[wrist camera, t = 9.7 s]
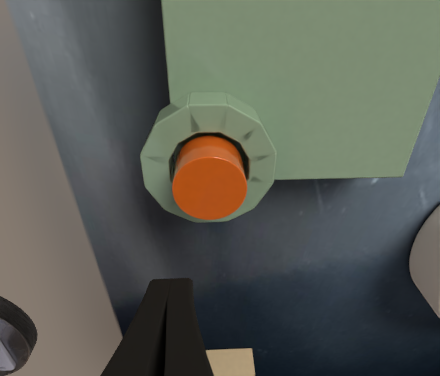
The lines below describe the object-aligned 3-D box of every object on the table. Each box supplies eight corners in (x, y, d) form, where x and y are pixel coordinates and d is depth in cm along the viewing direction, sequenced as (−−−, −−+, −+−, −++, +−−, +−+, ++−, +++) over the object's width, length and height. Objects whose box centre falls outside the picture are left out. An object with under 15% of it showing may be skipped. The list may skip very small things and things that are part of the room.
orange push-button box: (161, 173, 19) (150, 224, 15) (128, -118, 12) (88, -174, 8) (370, 169, 20) (414, 217, 16) (454, -114, 13) (577, -165, 9)
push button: (178, 194, 15) (174, 221, 13) (173, 135, 13) (168, 157, 12) (241, 192, 15) (245, 219, 13) (243, 134, 13) (249, 156, 12)
